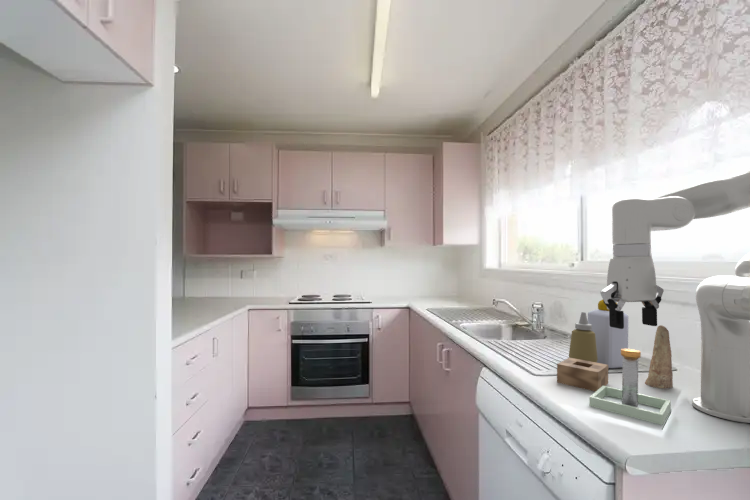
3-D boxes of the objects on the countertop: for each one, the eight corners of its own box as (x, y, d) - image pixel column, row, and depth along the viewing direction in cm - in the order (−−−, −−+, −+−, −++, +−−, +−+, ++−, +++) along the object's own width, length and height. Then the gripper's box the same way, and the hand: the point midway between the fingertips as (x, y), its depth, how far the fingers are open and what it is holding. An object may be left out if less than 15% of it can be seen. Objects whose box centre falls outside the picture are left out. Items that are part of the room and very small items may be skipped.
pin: (629, 404, 89) (630, 348, 90) (644, 410, 86) (644, 352, 86) (615, 405, 89) (616, 348, 89) (630, 412, 85) (631, 353, 85)
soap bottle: (629, 367, 123) (630, 290, 123) (608, 369, 120) (609, 290, 121) (605, 360, 132) (606, 288, 132) (585, 361, 129) (586, 288, 129)
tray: (670, 413, 86) (670, 400, 86) (662, 429, 78) (662, 415, 78) (602, 397, 96) (603, 385, 96) (589, 409, 88) (589, 396, 88)
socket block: (608, 386, 104) (608, 364, 104) (597, 395, 97) (598, 372, 97) (569, 378, 111) (569, 357, 111) (556, 385, 104) (557, 363, 104)
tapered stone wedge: (644, 391, 103) (672, 397, 99) (646, 327, 101) (676, 331, 97) (645, 382, 108) (672, 387, 104) (648, 321, 106) (675, 324, 102)
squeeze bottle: (568, 370, 119) (569, 312, 119) (568, 364, 126) (569, 309, 126) (598, 374, 115) (599, 315, 115) (596, 368, 122) (597, 312, 122)
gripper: (645, 252, 93) (646, 321, 93) (588, 252, 89) (589, 325, 89) (676, 251, 86) (678, 327, 86) (616, 252, 82) (618, 332, 81)
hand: (633, 326), depth 87 cm, fingers open, 9 cm apart
